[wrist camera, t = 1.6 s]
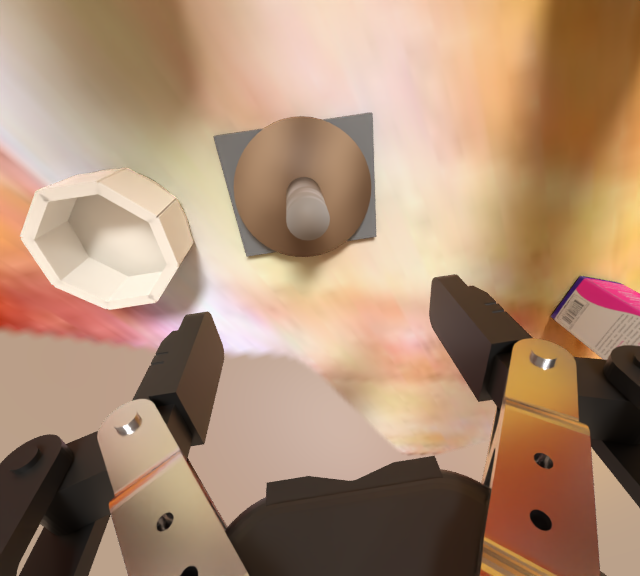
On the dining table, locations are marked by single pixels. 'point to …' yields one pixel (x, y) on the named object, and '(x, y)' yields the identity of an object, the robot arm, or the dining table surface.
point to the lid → (302, 186)
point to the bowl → (108, 237)
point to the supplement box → (601, 314)
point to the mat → (235, 143)
